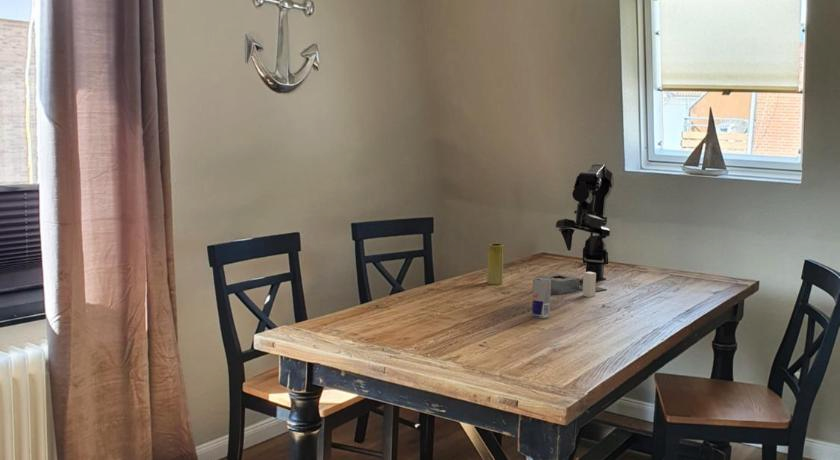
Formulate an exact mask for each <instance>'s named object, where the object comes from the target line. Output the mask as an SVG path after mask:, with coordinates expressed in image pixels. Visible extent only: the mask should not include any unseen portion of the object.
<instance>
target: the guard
mask: <svg viewBox="0 0 840 460" xmlns="http://www.w3.org/2000/svg"><path fill="white" fill-rule="evenodd" d="M539 277H547V278H550V280H551V293H553V294H556V295H563V294H569V293H574V292H579V291H580V290H579V287H580V277H575V276H571V275H566V274H562V273H553V274H547V275H542V276H539ZM556 278H560V279H556Z"/></svg>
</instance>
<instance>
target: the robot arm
mask: <svg viewBox="0 0 840 460" xmlns="http://www.w3.org/2000/svg"><path fill="white" fill-rule="evenodd" d="M574 182H575V183H574V185H573V191H572V198H573V200H574V201H575V202H576V203H577V204H576V210H574V213H573V214H575V220H573V219H569V218H562V219H558V220H557V221H556V224H555V228H556V229H558V232H560V233H561V235H562V238H563V240H564V243H565V246H566V249H567V251H569V252H570V251H571V249H572V244H573V243H572V241H573V234H574V233H575V230H579V231H582V232H585V233H586V232H587V233H590V235H589V237H588V238H587V239H586V240H585V243H584V246H583V248H582V263H583V264H586V266H585V272H594V273H596V282H599V281H606V280H607V277H604V273H605V272H604V270H605V266H606V265H609V263H610V261H609V252H608V250H607V245H606V242H605V240H604V239H606V238H607V237H610V236H611V229H609V227H605V226H607V222H608V216H605V214H606V204H607V201H606V200H607V198H609V196H610V194H611V193H612V188H614V182H615V180H614V175H613V173H612V172H611V170H609V169H608V168H607V165H605V164H592V165H591V168H590V169H588V171H584V172H583V171H581V172H579V174H578V175H577V176H576V179H575V181H574Z"/></svg>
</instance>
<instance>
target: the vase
mask: <svg viewBox="0 0 840 460" xmlns="http://www.w3.org/2000/svg"><path fill="white" fill-rule="evenodd" d="M487 253H488V255H487V273H486V274H487V275H486V276H487V279H486V284H488V285H493V286H498V285H503V284H504V244H503V243H499V242H498V243H496V242H495V243H489V244H488V252H487Z"/></svg>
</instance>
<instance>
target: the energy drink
mask: <svg viewBox="0 0 840 460" xmlns="http://www.w3.org/2000/svg"><path fill="white" fill-rule="evenodd" d="M532 282H533V284H532V285H533V286H532V309H531V311H532V312H531V315H532V317H533V318H535V319H540V320H541V319H549V317H550V315H551V314H550V311H551V293H552V292H551V280H550V278H547V277H540V276H536V277H534V278H533V281H532Z"/></svg>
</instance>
